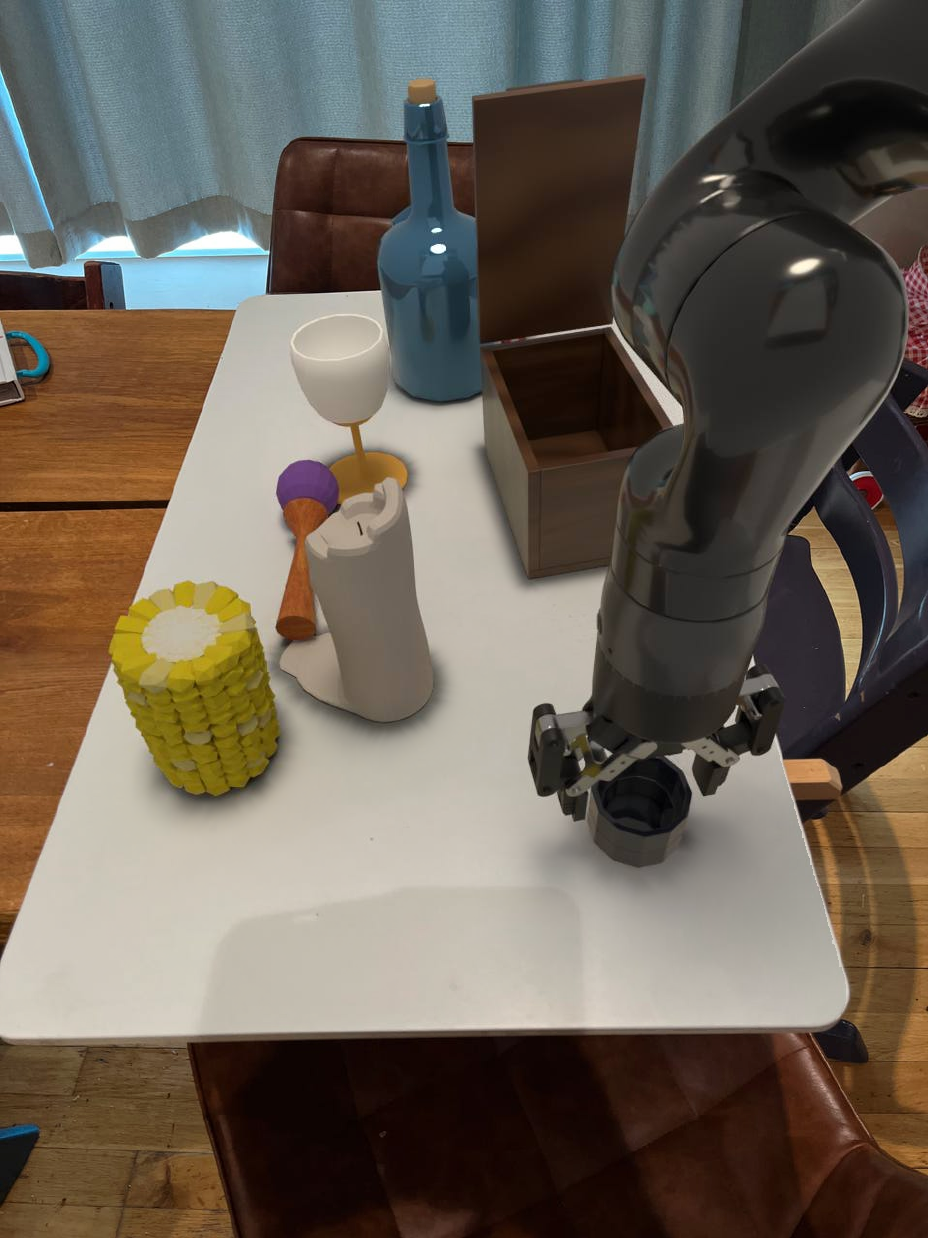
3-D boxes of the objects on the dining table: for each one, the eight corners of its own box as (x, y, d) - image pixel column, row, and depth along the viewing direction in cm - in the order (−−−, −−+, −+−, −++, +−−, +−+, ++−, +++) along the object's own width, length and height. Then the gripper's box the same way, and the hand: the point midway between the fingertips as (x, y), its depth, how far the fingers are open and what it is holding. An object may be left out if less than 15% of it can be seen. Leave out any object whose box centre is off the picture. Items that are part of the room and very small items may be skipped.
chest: (667, 555, 71) (686, 446, 62) (528, 579, 70) (528, 472, 62) (602, 430, 85) (611, 326, 76) (484, 449, 84) (479, 346, 75)
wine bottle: (521, 387, 91) (517, 85, 69) (414, 418, 88) (375, 114, 66) (474, 335, 100) (458, 52, 78) (376, 361, 97) (330, 76, 75)
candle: (307, 619, 69) (245, 426, 54) (448, 666, 64) (424, 470, 49) (260, 679, 65) (179, 489, 50) (408, 734, 60) (367, 542, 45)
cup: (425, 470, 82) (408, 326, 70) (369, 519, 77) (340, 373, 65) (360, 444, 86) (333, 302, 74) (303, 489, 81) (264, 346, 69)
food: (169, 728, 64) (293, 708, 65) (148, 841, 54) (294, 814, 56) (109, 568, 55) (254, 548, 56) (73, 669, 46) (248, 642, 47)
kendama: (246, 614, 64) (268, 455, 76) (277, 655, 68) (294, 499, 81) (315, 598, 63) (326, 440, 75) (342, 641, 67) (348, 485, 80)
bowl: (661, 779, 56) (670, 741, 53) (693, 860, 52) (706, 825, 48) (577, 796, 56) (581, 759, 52) (603, 878, 52) (609, 844, 48)
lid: (646, 77, 58) (624, 48, 61) (473, 99, 57) (460, 69, 60) (612, 324, 75) (597, 292, 78) (480, 344, 74) (469, 311, 77)
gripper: (553, 719, 35) (546, 872, 47) (850, 664, 36) (769, 827, 49) (516, 601, 40) (518, 766, 52) (779, 555, 41) (721, 728, 54)
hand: (639, 795), depth 50 cm, fingers open, 8 cm apart
